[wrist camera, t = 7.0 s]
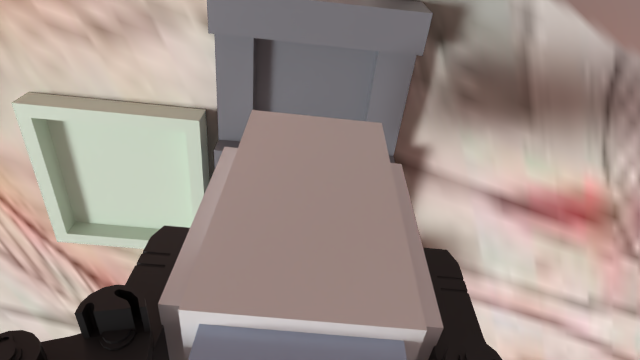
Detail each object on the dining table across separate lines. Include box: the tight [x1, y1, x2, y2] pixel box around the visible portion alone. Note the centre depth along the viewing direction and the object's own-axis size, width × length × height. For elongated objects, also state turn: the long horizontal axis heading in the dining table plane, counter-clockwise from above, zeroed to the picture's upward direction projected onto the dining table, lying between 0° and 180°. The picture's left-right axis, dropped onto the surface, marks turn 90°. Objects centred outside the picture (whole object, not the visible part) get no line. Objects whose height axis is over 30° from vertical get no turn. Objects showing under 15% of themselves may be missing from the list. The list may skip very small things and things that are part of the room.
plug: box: [178, 110, 427, 360], centre depth 12 cm, size 4×4×10 cm
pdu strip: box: [207, 0, 433, 168], centre depth 26 cm, size 10×26×3 cm, turn 174°
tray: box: [12, 92, 210, 249], centre depth 26 cm, size 10×10×2 cm
